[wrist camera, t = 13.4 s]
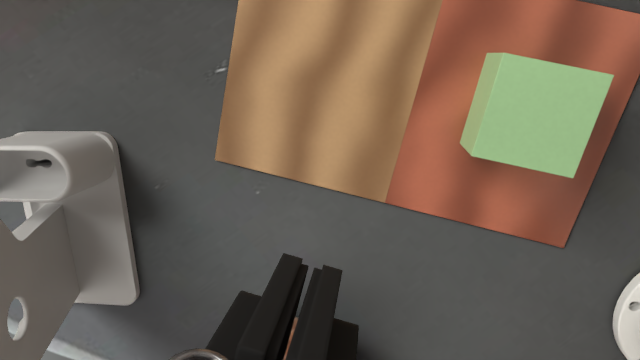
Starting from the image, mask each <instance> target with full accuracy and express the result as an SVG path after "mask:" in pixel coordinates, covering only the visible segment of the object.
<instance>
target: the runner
mask: <svg viewBox="0 0 640 360" xmlns="http://www.w3.org/2000/svg"><path fill="white" fill-rule="evenodd" d="M487 53H509V54H514V55H519V56H524V57H528V58H533V59H538V60H543V61H548V62H553V63H558V64H563V65H568V66H573V67H578V68H583V69H588V70H592V71H597V72H602V73H607V74H612V75H614V77H613V80H612V82H611V85H610V87H609V90H608V92H607V95H606V97H605V100H604V102H603V105H602V107H601V110H600V112H599V115H598V117H597V120H596V122H595V125H594V128H593V130H592V133H591V135H590V138H589V140H588V143H587V145H586V148H585V150H584V153H583V155H582V158H581V160H580V163H579V165H578V168H577V170H576V173H575V175H574V178H569V177H564V176H559V175H555V174H550V173H546V172H541V171H537V170H532V169H528V168H523V167H519V166H514V165H510V164H505V163H500V162H496V161H491V160H487V159H482V158H478V157H473V156H471V155H470V154H469V153H468V152H467V151H466V150H465V149H464V147H463V146H462V145H461V144H460V140H461V137H462V133H463V130H464V127H465V123H466V120H467V117H468V114H469V110H470V107H471V104H472V100H473V97H474V94H475V90H476V87H477V84H478V81H479V77H480V74H481V71H482V67H483V64H484V61H485V58H486V54H487ZM639 75H640V14H637V13H632V12H628V11H623V10H618V9H614V8H609V7H605V6H600V5H595V4H591V3H586V2H582V1H577V0H239V2H238V9H237V15H236V22H235V29H234V35H233V42H232V49H231V55H230V62H229V69H228V75H227V82H226V88H225V95H224V102H223V108H222V115H221V122H220V128H219V135H218V142H217V148H216V155H215V160H217V161H221V162H225V163H229V164H233V165H237V166H241V167H245V168H249V169H253V170H257V171H261V172H265V173H269V174H273V175H277V176H281V177H285V178H289V179H293V180H297V181H301V182H304V183H308V184H312V185H316V186H320V187H324V188H328V189H332V190H336V191H340V192H344V193H348V194H352V195H356V196H360V197H364V198H368V199H372V200H376V201H380V202H384V203H388V204H392V205H395V206H399V207H403V208H407V209H411V210H415V211H419V212H423V213H427V214H431V215H435V216H439V217H443V218H447V219H451V220H455V221H459V222H463V223H467V224H471V225H475V226H479V227H483V228H486V229H490V230H494V231H498V232H502V233H506V234H510V235H514V236H518V237H522V238H526V239H530V240H534V241H538V242H542V243H546V244H550V245H554V246H558V247H562V248H564V246H565V243H566V241H567V239H568V236H569V234H570V232H571V230H572V227H573V225H574V223H575V221H576V218H577V216H578V214H579V211H580V209H581V207H582V205H583V202H584V200H585V198H586V195H587V193H588V191H589V189H590V186H591V184H592V182H593V179H594V177H595V175H596V173H597V170H598V168H599V166H600V164H601V161H602V159H603V157H604V154H605V152H606V150H607V148H608V145H609V143H610V141H611V138H612V136H613V134H614V132H615V129H616V127H617V125H618V122H619V120H620V118H621V116H622V113H623V111H624V109H625V107H626V104H627V102H628V100H629V97H630V95H631V93H632V91H633V88H634V86H635V84H636V81H637V79H638V77H639Z"/></svg>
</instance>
